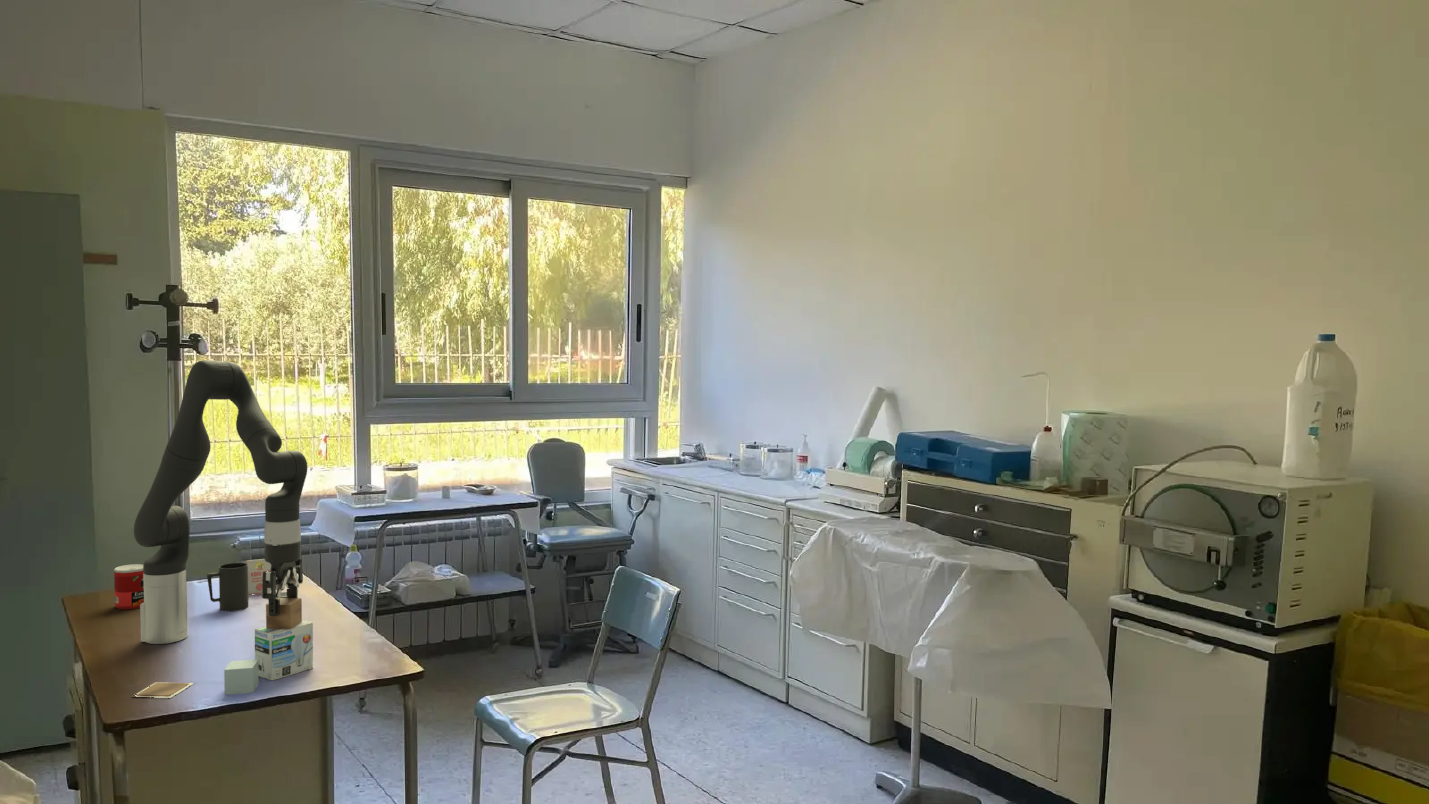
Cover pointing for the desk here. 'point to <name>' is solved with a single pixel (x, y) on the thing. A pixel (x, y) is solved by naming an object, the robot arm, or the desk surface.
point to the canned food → (129, 586)
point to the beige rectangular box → (256, 575)
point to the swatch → (163, 690)
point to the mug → (231, 586)
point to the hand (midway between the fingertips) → (283, 610)
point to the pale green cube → (241, 676)
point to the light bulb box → (284, 650)
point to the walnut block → (285, 614)
